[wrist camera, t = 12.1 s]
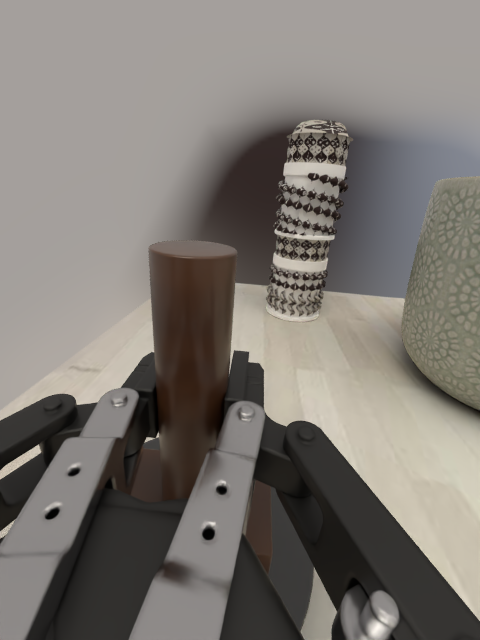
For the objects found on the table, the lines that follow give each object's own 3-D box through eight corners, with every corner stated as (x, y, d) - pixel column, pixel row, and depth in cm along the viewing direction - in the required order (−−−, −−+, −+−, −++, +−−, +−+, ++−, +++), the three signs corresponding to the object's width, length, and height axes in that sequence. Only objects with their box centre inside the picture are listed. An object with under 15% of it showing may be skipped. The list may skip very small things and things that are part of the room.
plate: (-35, 785, 9) (-40, 781, 8) (98, 440, 20) (97, 435, 20) (364, 699, 11) (368, 694, 10) (276, 431, 22) (277, 426, 22)
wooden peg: (264, 596, 12) (330, 277, 6) (99, 574, 12) (23, 249, 7) (264, 500, 16) (305, 246, 10) (137, 484, 16) (110, 229, 11)
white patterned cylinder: (328, 309, 47) (366, 131, 37) (311, 328, 40) (353, 113, 30) (277, 296, 51) (299, 132, 41) (253, 312, 44) (273, 116, 34)
